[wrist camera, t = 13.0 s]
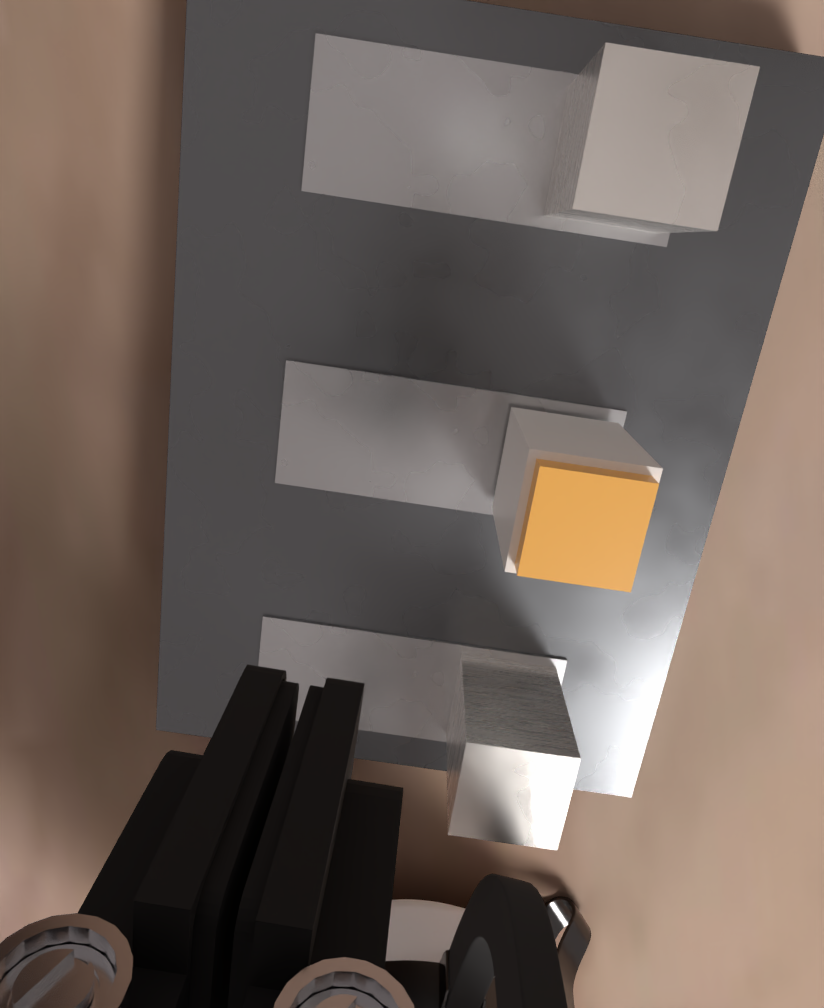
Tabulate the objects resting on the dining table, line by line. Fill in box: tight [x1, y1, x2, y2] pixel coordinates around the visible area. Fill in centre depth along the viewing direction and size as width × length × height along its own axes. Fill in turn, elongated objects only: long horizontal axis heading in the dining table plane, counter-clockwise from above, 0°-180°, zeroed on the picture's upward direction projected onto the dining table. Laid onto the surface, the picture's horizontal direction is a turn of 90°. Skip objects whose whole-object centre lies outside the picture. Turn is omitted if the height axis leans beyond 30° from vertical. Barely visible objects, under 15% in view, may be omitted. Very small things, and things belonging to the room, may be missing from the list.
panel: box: [156, 0, 824, 850], centre depth 21 cm, size 22×16×7 cm
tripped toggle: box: [492, 407, 663, 592], centre depth 19 cm, size 3×3×5 cm
